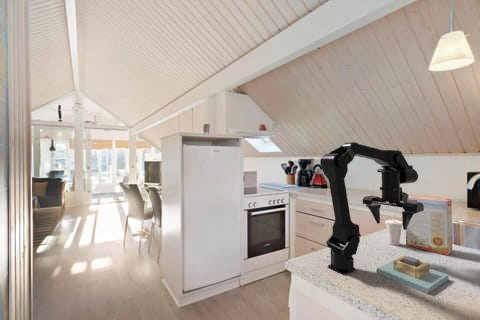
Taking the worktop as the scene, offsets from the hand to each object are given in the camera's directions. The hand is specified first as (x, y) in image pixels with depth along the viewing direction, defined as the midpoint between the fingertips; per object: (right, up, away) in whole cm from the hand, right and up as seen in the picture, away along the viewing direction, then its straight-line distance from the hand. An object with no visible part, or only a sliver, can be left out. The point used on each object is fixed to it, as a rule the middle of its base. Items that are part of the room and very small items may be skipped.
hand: (391, 226), depth 87 cm
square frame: (-2, -11, -12) cm, 17 cm away
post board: (-2, -12, -12) cm, 18 cm away
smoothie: (+10, -12, +14) cm, 21 cm away
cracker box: (+21, -12, +9) cm, 25 cm away
